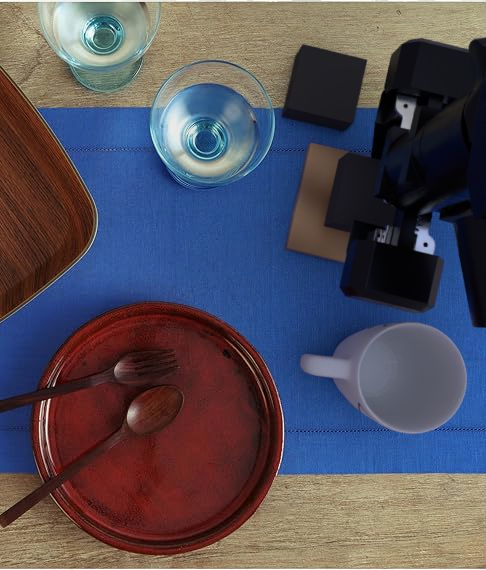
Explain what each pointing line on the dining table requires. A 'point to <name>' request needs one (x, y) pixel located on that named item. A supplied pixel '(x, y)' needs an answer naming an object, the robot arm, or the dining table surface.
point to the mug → (397, 375)
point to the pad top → (324, 88)
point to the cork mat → (317, 207)
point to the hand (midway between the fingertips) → (368, 198)
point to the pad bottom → (356, 195)
